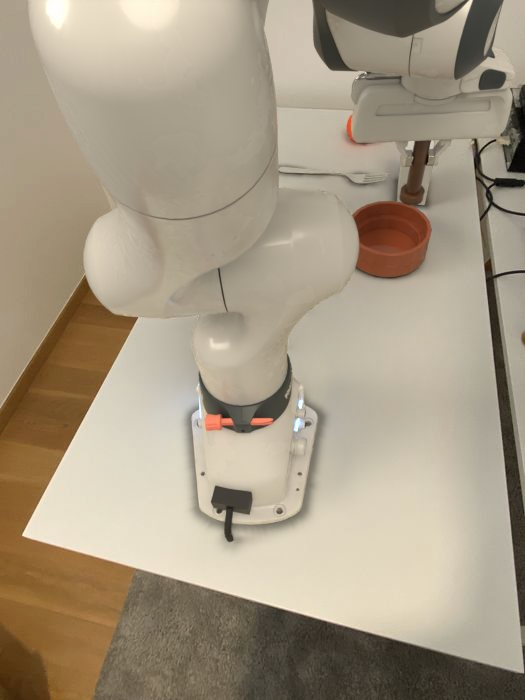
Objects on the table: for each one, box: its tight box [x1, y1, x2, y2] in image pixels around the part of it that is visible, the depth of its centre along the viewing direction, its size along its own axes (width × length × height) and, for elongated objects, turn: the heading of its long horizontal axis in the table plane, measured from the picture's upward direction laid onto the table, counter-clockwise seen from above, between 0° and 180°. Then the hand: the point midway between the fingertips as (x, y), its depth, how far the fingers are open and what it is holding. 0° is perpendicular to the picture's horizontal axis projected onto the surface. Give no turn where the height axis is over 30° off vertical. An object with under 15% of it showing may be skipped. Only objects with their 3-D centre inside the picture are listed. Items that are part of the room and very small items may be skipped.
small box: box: [396, 140, 435, 206], centre depth 98 cm, size 8×6×10 cm
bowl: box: [352, 200, 433, 278], centre depth 91 cm, size 14×14×6 cm
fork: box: [278, 166, 390, 184], centre depth 107 cm, size 3×24×2 cm, turn 72°
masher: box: [399, 140, 431, 206], centre depth 73 cm, size 4×4×12 cm
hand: (418, 163), depth 73 cm, fingers closed on masher, 2 cm apart
